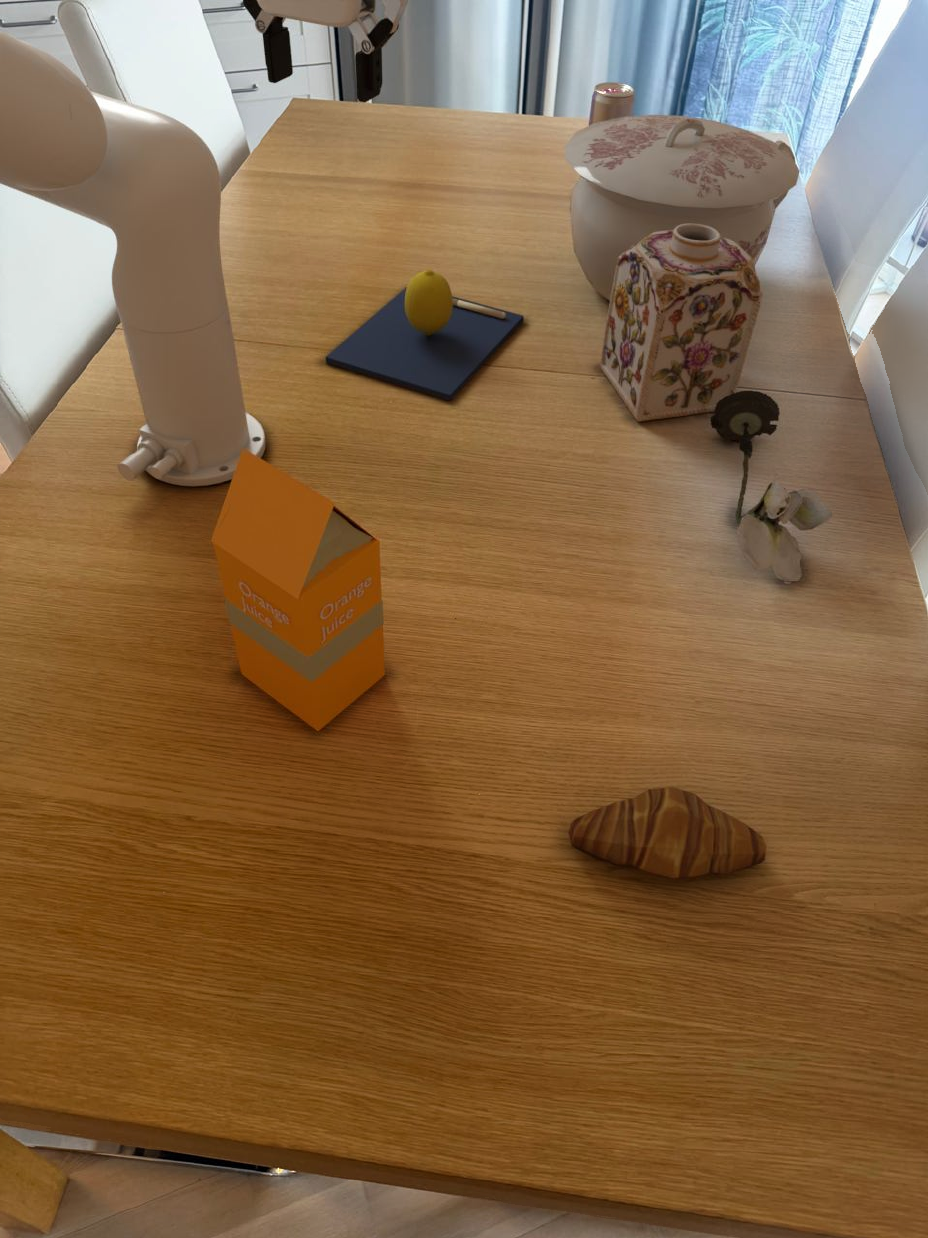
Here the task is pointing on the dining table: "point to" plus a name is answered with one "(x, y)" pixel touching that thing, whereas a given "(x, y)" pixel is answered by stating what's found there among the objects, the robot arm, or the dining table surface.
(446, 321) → the lemon
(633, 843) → the croissant
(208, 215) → the robot arm
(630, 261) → the decorative jar
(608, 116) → the beverage can
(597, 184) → the chamber pot
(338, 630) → the orange juice
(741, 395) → the artificial flower
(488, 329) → the clipboard
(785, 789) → the dining table surface
